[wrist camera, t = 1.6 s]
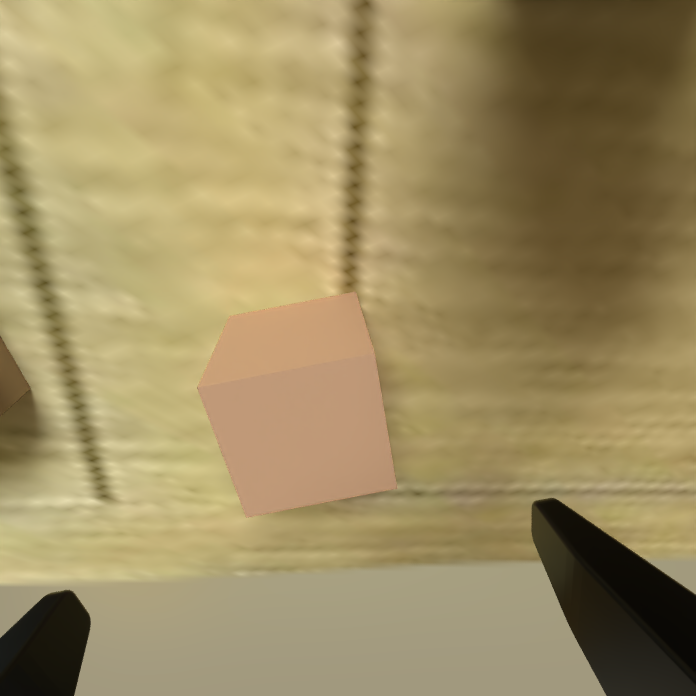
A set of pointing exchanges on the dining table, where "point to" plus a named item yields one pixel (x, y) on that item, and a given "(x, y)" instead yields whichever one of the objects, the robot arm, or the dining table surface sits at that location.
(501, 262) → the dining table surface
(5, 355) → the walnut slab
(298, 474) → the clay block
